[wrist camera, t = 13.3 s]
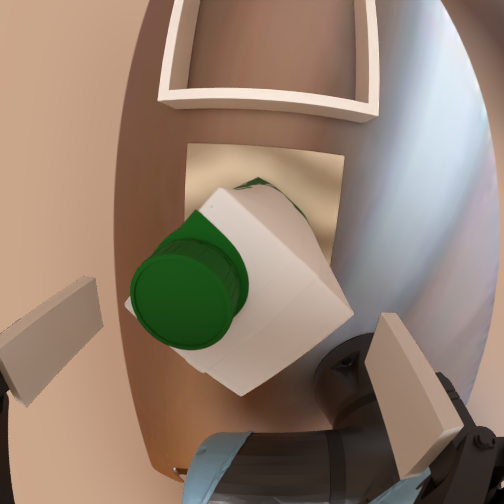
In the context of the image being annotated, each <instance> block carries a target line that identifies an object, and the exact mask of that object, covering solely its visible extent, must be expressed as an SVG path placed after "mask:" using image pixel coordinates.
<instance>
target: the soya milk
mask: <svg viewBox="0 0 504 504" xmlns="http://www.w3.org/2000/svg"><path fill="white" fill-rule="evenodd" d="M125 307H126V308H127V309H128V310H129V311H130V312H131V313H132V314H133V315H134V316H135V317H136V318H137V319H138V320H139V322H140V323H141V325H142V326H143V327H144V328H145V329H146V331H147V332H148V333H150V334H151V335H152V336H153V337H154V338H156V339H157V340H159V341H160V342H162V343H164V344H166V345H168V346H170V347H171V348H172V349H173V350H175V351H176V352H177V353H178V354H180V355H181V356H182V357H183V358H185V359H186V361H187V362H188V363H189V364H191V365H192V366H193V367H194V368H196V369H197V370H199V371H200V372H202V373H205V372H206V373H207V374H209V375H210V376H212V377H213V378H214V379H216V380H217V381H219V382H220V383H221V384H223V385H224V386H226V387H227V388H229V389H230V390H232V391H233V392H235V393H236V394H238V395H239V396H243V395H245V394H247V393H248V392H250V391H251V390H253V389H254V388H256V387H257V386H259V385H261V384H262V383H264V382H265V381H267V380H268V379H270V378H271V377H273V376H274V375H275V374H277V373H278V372H280V371H281V370H283V369H284V368H286V367H287V366H288V365H290V364H291V363H293V362H294V361H295V360H297V359H298V358H300V357H301V356H302V355H304V354H305V353H306V352H308V351H309V350H310V349H312V348H313V347H314V346H316V345H317V344H318V343H320V342H321V341H322V340H323V339H325V338H326V337H327V336H329V335H330V334H331V333H332V332H334V331H335V330H336V329H337V328H339V327H340V326H341V325H342V324H343V323H345V322H346V321H347V320H348V319H349V318H351V317H352V316H353V315H354V312H353V311H352V309H351V307H350V305H349V303H348V301H347V299H346V297H345V295H344V293H343V291H342V289H341V287H340V285H339V283H338V281H337V280H336V278H335V276H334V274H333V272H332V270H331V268H330V266H329V264H328V262H327V260H326V258H325V257H324V255H323V253H322V251H321V249H320V247H319V244H318V242H317V240H316V237H315V235H314V233H313V231H312V229H311V227H310V225H309V222H308V220H307V218H306V216H305V215H304V213H303V212H302V211H301V210H300V209H299V208H298V207H297V206H296V205H295V204H294V203H293V202H292V201H291V200H290V199H289V198H288V197H287V196H286V195H285V194H283V193H282V192H281V191H280V190H279V189H278V188H276V187H275V186H274V185H272V184H270V183H269V182H267V181H265V180H263V179H261V178H259V177H257V178H255V179H253V180H251V181H248V182H246V183H244V184H242V185H240V186H237V187H235V188H233V189H230V188H225V187H221V186H220V187H218V188H217V189H216V190H215V191H214V192H213V193H212V194H211V196H210V197H209V198H208V199H207V200H206V201H205V203H204V204H203V205H202V206H201V207H200V208H199V210H198V211H197V210H196V209H195V210H194V211H193V212H192V214H191V215H190V216H189V217H188V218H187V220H186V221H185V222H184V223H183V224H182V226H181V227H180V228H178V229H177V230H175V231H174V232H173V233H171V234H170V235H169V236H168V237H167V238H166V239H165V240H164V241H163V242H162V243H161V244H160V245H159V246H158V247H157V249H156V250H155V251H154V253H153V254H152V256H150V257H149V258H148V259H147V260H145V261H144V262H143V263H142V265H141V266H140V267H139V268H137V271H136V272H135V274H134V276H133V278H132V281H131V286H130V296H129V298H128V299H127V301H126V302H125Z"/></svg>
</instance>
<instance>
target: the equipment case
mask: <svg viewBox="0 0 504 504" xmlns="http://www.w3.org/2000/svg"><path fill="white" fill-rule="evenodd" d="M199 5H200V0H175V2H174V6H173V11H172V15H171V20H170V25H169V30H168V35H167V40H166V46H165V52H164V58H163V64H162V71H161V78H160V86H159V94H158V101H159V102H162V103H164V104H166V105H168V106H170V107H172V108H175V109H203V108H222V109H253V110H269V111H281V112H292V113H301V114H309V115H317V116H324V117H331V118H337V119H343V120H349V121H354V122H359V123H365V122H367V121H369V120H371V119H373V118H376V117H378V114H379V48H378V30H377V18H376V8H375V0H354V13H355V36H356V90H355V101H353V100H348V99H343V98H337V97H331V96H324V95H317V94H310V93H302V92H292V91H282V90H269V89H249V88H197V89H187V84H188V76H189V68H190V60H191V53H192V46H193V40H194V33H195V27H196V22H197V16H198V11H199Z"/></svg>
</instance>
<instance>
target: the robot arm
mask: <svg viewBox="0 0 504 504" xmlns="http://www.w3.org/2000/svg"><path fill="white" fill-rule="evenodd" d="M102 327H103V321H102V316H101V311H100V305H99V299H98V293H97V286H96V279H95V278H93V277H88V276H83V277H81V278H80V279H78V280H76V281H75V282H73V283H72V284H70V285H69V286H67V287H66V288H64V289H63V290H61V291H60V292H58V293H57V294H55V295H54V296H52V297H51V298H49V299H48V300H46V301H45V302H43V303H42V304H41V305H39V306H38V307H36V308H35V309H34V310H32V311H31V312H29V313H28V314H26V315H25V316H24V317H22V318H21V319H19V320H18V321H16V322H15V323H14V324H12V326H10V327H8V328H7V329H6V330H4V331H3V332H2V333H0V504H15V502H14V498H13V497H14V496H13V490H12V484H11V475H10V465H9V451H8V408H9V398H8V395H7V393H6V392H7V391H8V390H9V389H10V391H11V393H12V394H13V396H14V398H15V400H16V401H18V402H19V403H21V404H22V405H24V406H25V407H28V406H29V405H30V403H32V401H33V400H34V399H35V398H36V397H37V396H38V395H39V394H40V392H41V391H42V390H43V389H44V388H45V387H46V386H47V385H48V384H49V382H50V381H51V380H52V379H53V378H54V377H55V376H56V375H57V374H58V373H59V372H60V371H61V370H62V368H63V367H64V366H65V365H66V364H67V363H68V362H69V361H70V360H71V359H72V358H73V357H74V356H75V355H76V354H77V353H78V352H79V351H80V349H82V347H84V346H85V344H86V343H87V342H88V341H89V340H90V339H91V338H92V337H93V336H94V335H95V334H96V333H97V332H98V331H99V330H100V329H101V328H102ZM314 389H315V396H316V400H317V402H318V404H319V406H320V407H321V409H322V411H323V412H324V414H325V416H326V417H327V419H328V420H329V422H330V424H331V425H332V428H333V430H322V431H309V432H288V433H254V432H253V431H248V432H246V433H226V432H222V433H216V434H213V435H211V436H209V437H208V438H207V439H206V440H205V441H204V442H203V443H202V444H201V445H200V447H199V448H198V450H197V451H196V454H195V455H194V457H193V459H192V462H191V464H190V466H189V469H188V472H187V475H186V479H185V483H184V488H183V496H182V504H504V487H503V488H501V482H502V481H504V437H496V436H495V434H494V433H493V432H492V431H491V430H490V429H488V428H487V427H482V426H476V425H475V423H474V421H473V419H472V417H471V416H470V414H469V412H468V410H467V409H466V407H465V405H464V403H463V402H462V400H461V399H460V397H459V395H458V393H457V392H455V388H454V387H453V385H452V383H451V382H450V380H449V379H448V378H446V377H445V376H444V375H443V374H442V373H441V372H438V373H435V372H434V371H433V369H432V367H431V366H430V364H429V363H428V361H427V359H426V358H425V356H424V355H423V353H422V351H421V350H420V348H419V347H418V345H417V344H416V342H415V341H414V339H413V337H412V336H411V334H410V333H409V331H408V330H407V328H406V327H405V325H404V324H403V322H402V321H401V320H400V318H399V317H398V315H397V314H396V313H384V312H381V314H380V317H379V321H378V324H377V327H376V330H375V333H371V334H366V335H362V336H358V337H356V338H353V339H351V340H348V341H346V342H345V343H343V344H341V345H339V346H338V347H336V348H335V349H334V350H332V351H331V352H330V353H329V354H328V355H327V356H326V357H325V358H324V359H323V361H322V362H321V363H320V365H319V366H318V368H317V370H316V373H315V377H314Z"/></svg>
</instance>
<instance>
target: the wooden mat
mask: <svg viewBox="0 0 504 504" xmlns="http://www.w3.org/2000/svg"><path fill="white" fill-rule="evenodd" d="M343 166H344V156H341V155H334V154H327V153H320V152H312V151H304V150H295V149H286V148H275V147H263V146H249V145H231V144H195V143H188V147H187V164H186V185H185V218H184V222H185V221H186V220H187V218H188V217H189V216H190V215H191V214H192V212H193V211H194V210H195V209H196V210H197V211H198V210H199V208H200V207H201V206H202V205H203V204H204V203H205V201H206V200H207V199H208V198H209V197H210V196H211V194H212V193H213V192H214V191H215V190H216V189H217V188H218V187H220V186H221V187H225V188H230V189H233V188H235V187H237V186H240V185H242V184H244V183H246V182H248V181H251V180H253V179H255V178H257V177H259V178H261V179H263V180H265V181H267V182H269V183H270V184H272V185H274V186H275V187H276V188H278V189H279V190H280V191H281V192H282V193H283V194H285V195H286V196H287V197H288V198H289V199H290V200H291V201H292V202H293V203H294V204H295V205H296V206H297V207H298V208H299V209H300V210H301V211H302V212H303V213H304V215H305V216H306V218H307V220H308V222H309V225H310V227H311V229H312V231H313V233H314V235H315V237H316V240H317V242H318V244H319V247H320V249H321V251H322V253H323V255H324V257H325V258H326V260H327V262H328V264H329V266H330V261H331V256H332V250H333V243H334V237H335V230H336V224H337V216H338V209H339V201H340V193H341V185H342V175H343Z"/></svg>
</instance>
